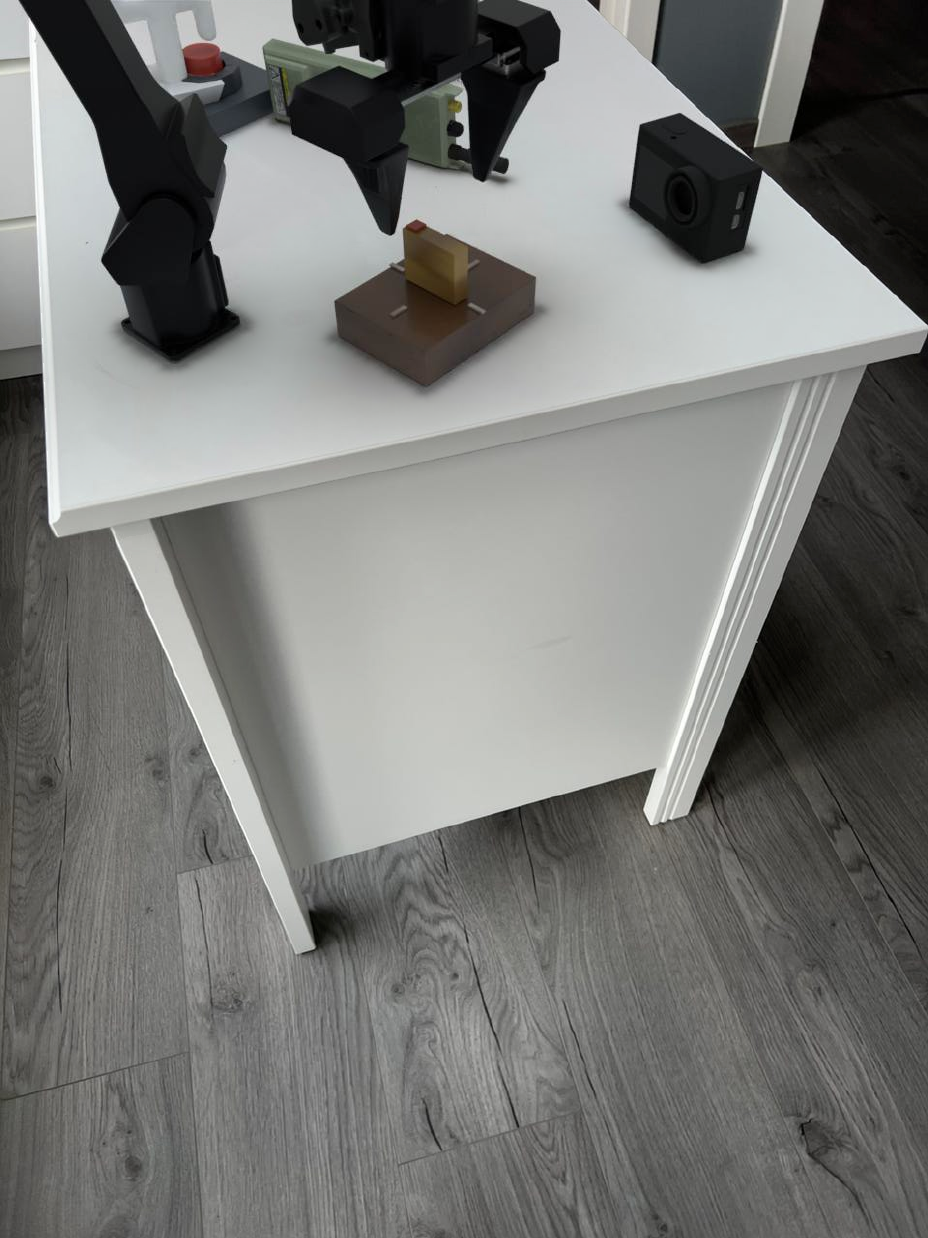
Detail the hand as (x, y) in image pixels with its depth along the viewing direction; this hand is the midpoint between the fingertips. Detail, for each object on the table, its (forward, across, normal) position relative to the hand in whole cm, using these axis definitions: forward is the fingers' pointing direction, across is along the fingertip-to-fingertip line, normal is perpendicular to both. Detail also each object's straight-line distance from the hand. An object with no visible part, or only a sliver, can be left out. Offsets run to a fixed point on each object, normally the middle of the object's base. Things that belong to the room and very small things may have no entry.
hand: (435, 205), depth 68 cm
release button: (+6, -11, -40) cm, 42 cm away
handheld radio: (+10, -17, -22) cm, 29 cm away
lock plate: (+9, 0, 0) cm, 9 cm away
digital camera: (+10, -23, +6) cm, 26 cm away
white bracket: (0, -8, -40) cm, 41 cm away
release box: (+9, -11, -40) cm, 42 cm away
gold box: (+6, 0, 0) cm, 6 cm away
